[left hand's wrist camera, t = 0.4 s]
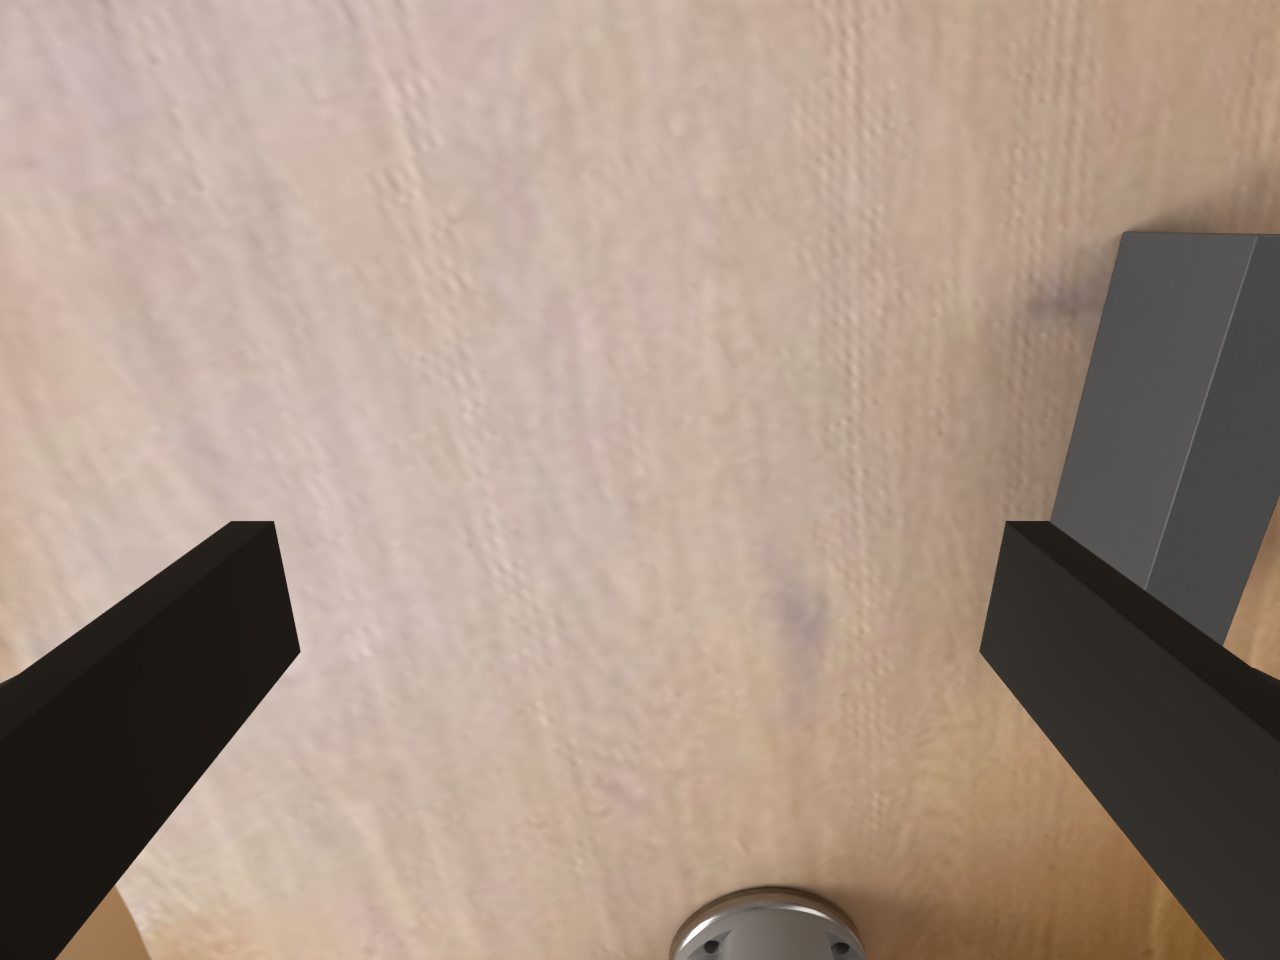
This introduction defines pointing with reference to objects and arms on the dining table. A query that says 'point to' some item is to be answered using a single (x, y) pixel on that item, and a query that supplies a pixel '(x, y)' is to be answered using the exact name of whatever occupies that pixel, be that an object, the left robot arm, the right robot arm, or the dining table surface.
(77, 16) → the dining table surface
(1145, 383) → the bar
